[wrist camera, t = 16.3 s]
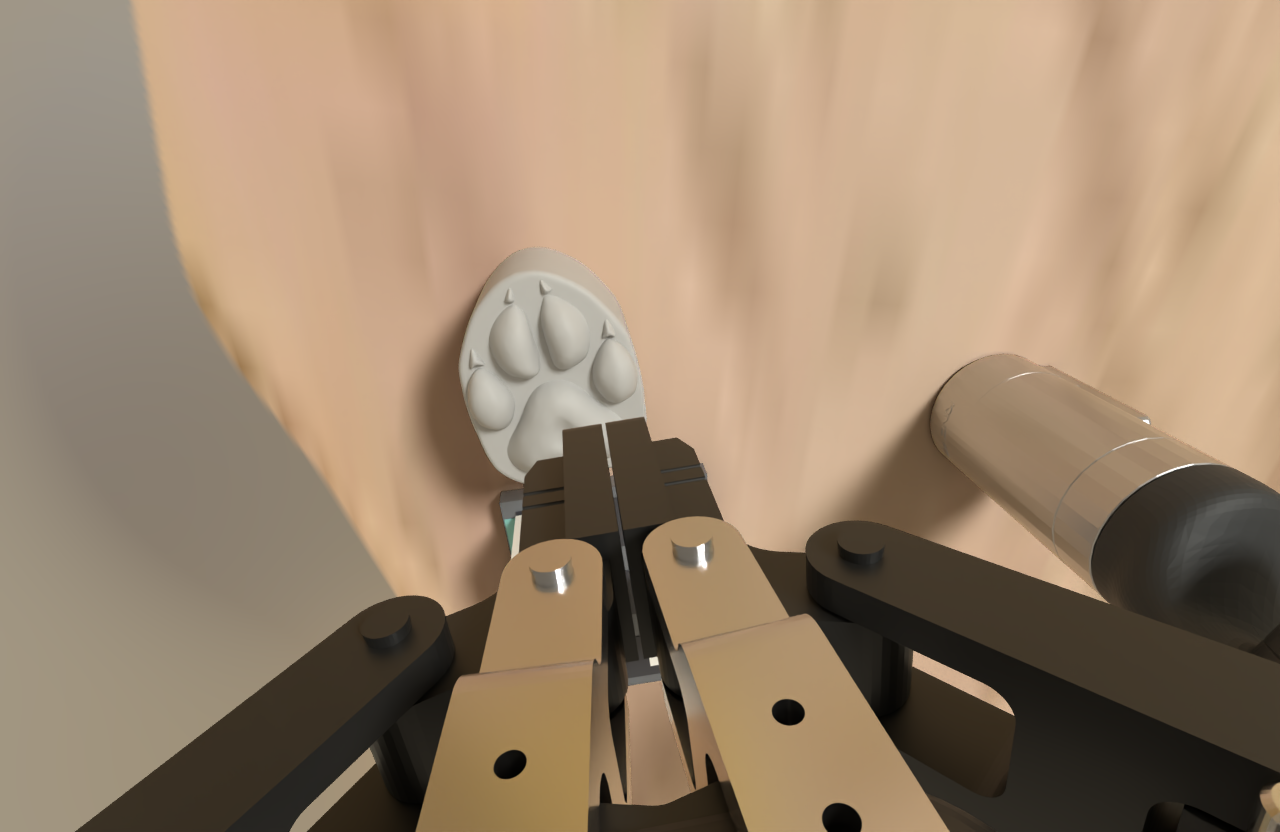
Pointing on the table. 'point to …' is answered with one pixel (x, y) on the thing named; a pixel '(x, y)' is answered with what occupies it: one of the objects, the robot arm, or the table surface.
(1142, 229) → the table surface
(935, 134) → the table surface
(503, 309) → the paw print plaque
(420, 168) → the table surface
